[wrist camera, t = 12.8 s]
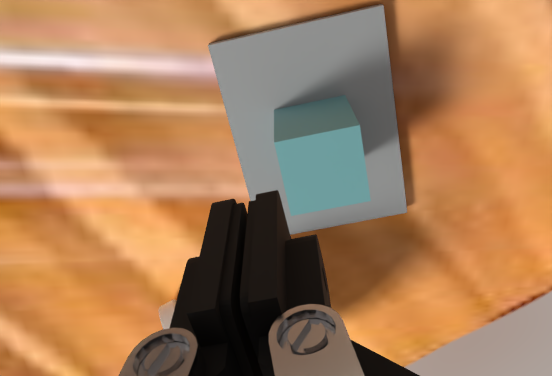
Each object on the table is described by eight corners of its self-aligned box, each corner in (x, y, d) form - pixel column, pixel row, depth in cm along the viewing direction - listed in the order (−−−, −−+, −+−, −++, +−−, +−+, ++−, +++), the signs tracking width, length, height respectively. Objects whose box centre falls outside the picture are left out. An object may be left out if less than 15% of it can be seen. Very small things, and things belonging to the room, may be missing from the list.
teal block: (273, 109, 35) (274, 142, 29) (345, 95, 35) (359, 125, 29) (288, 173, 38) (291, 216, 32) (355, 160, 37) (370, 201, 31)
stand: (209, 43, 34) (197, 60, 29) (381, 3, 33) (401, 14, 28) (261, 234, 41) (259, 276, 36) (404, 207, 40) (424, 246, 35)
